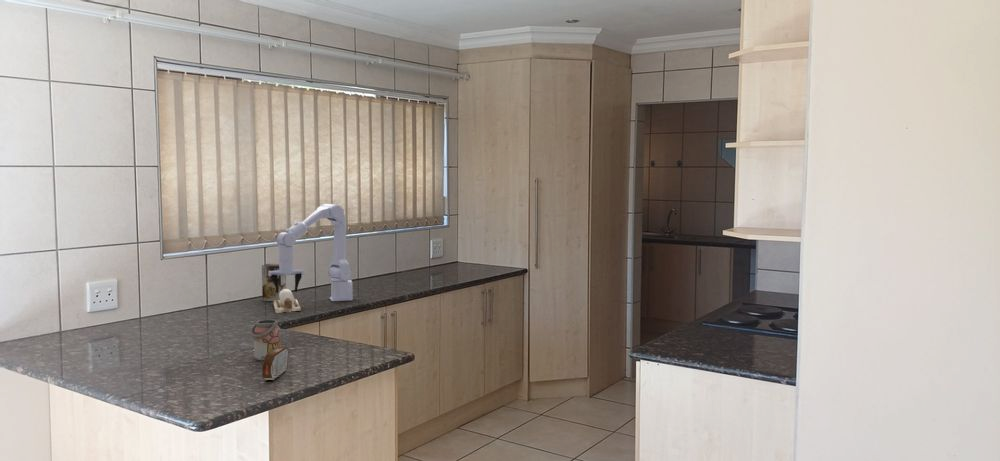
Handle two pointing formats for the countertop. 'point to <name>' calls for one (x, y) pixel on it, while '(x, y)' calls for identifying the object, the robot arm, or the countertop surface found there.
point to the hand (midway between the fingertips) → (286, 291)
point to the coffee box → (271, 283)
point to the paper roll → (286, 296)
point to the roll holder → (286, 306)
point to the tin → (275, 361)
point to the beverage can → (265, 337)
